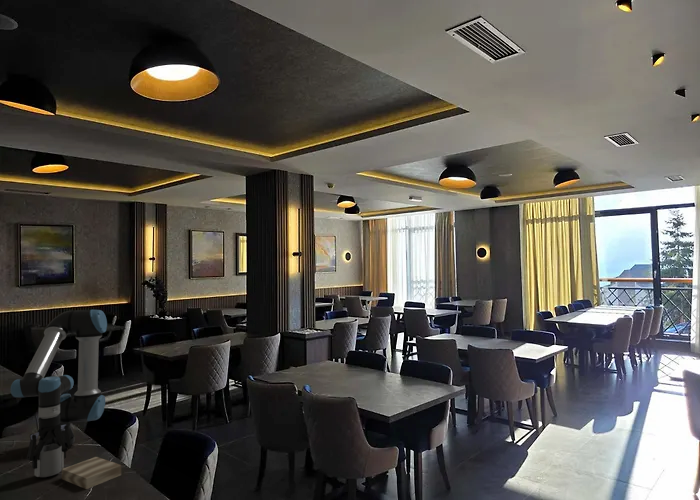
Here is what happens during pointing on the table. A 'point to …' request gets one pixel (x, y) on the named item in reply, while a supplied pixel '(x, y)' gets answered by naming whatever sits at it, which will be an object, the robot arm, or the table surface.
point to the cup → (50, 460)
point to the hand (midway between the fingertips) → (49, 471)
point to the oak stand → (91, 472)
